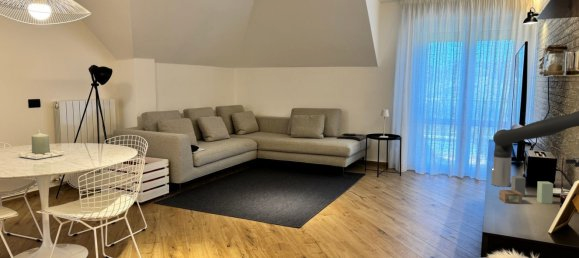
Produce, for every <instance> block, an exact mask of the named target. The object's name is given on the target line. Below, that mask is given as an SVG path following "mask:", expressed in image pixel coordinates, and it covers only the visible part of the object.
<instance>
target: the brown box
mask: <svg viewBox="0 0 579 258" xmlns="http://www.w3.org/2000/svg"><path fill="white" fill-rule="evenodd" d="M498 191H499V193H498V194H499V195H498V199H499V200H500V201H501V202H502V203H504V204H518V205H520V204H521V205H522V204H523V197H522V194H521V193H520V192H518V191H516V190H511V189H498Z"/></svg>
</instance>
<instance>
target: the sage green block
mask: <svg viewBox="0 0 579 258" xmlns="http://www.w3.org/2000/svg"><path fill="white" fill-rule="evenodd" d="M536 188H537V189H536V190H537V191H536V201H537V202H538V203H540V204H546V205H548V204H550V205H551V204H553V200H554V199H553V197H554V196H553V195H554V194H553V193H554V183H552V182H550V181H537V187H536Z"/></svg>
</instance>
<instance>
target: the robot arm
mask: <svg viewBox="0 0 579 258" xmlns="http://www.w3.org/2000/svg"><path fill="white" fill-rule="evenodd" d="M575 127H579V110H578V111H575V112H572V113H567V114H565V115H560V116H559V115H558V116H555V117H550V118H547V119H546V118H545V119H541V120H538V121H533V122H531V123H528V124H525V125H523V126H520V127H516V128H512V129H504V128H503V129H499V130H497V131H496V132H494V135H493V142H494V151H493V166H492V167H493V168H492V169H491V181H490V182H491V185H493V186H496V187H503V188H507V187H511V181H512V154H513V143H517V142H520V141H525V140H534V139H535V140H536V139H539V138H544V137H545V138H546V137H550V136H554V135H556V134H559V133H560V132H563V131H565V130H568V129H571V128H575ZM565 164H568V165H571V164H572V165H573V164H574V167H575V168H579V157H573V158H570V159H569V158H566V159H565Z"/></svg>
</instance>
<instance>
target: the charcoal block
mask: <svg viewBox="0 0 579 258" xmlns="http://www.w3.org/2000/svg"><path fill="white" fill-rule="evenodd" d="M510 190H516V191H518V192H520V193H521V194H522V198H525V197H526V178H525V177H524V176H521V175H520V176H519V175H517V176H516V175H511V183H510Z"/></svg>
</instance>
